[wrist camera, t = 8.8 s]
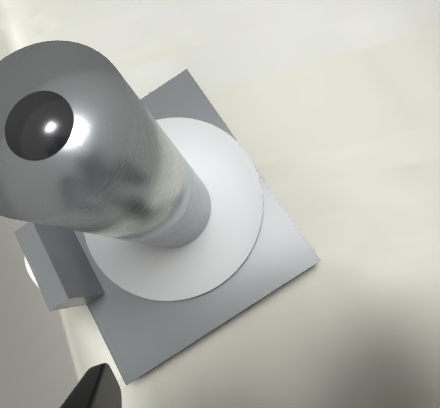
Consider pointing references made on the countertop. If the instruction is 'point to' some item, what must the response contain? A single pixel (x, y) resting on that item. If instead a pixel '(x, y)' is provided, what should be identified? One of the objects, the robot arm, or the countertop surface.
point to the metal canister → (90, 152)
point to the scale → (175, 257)
